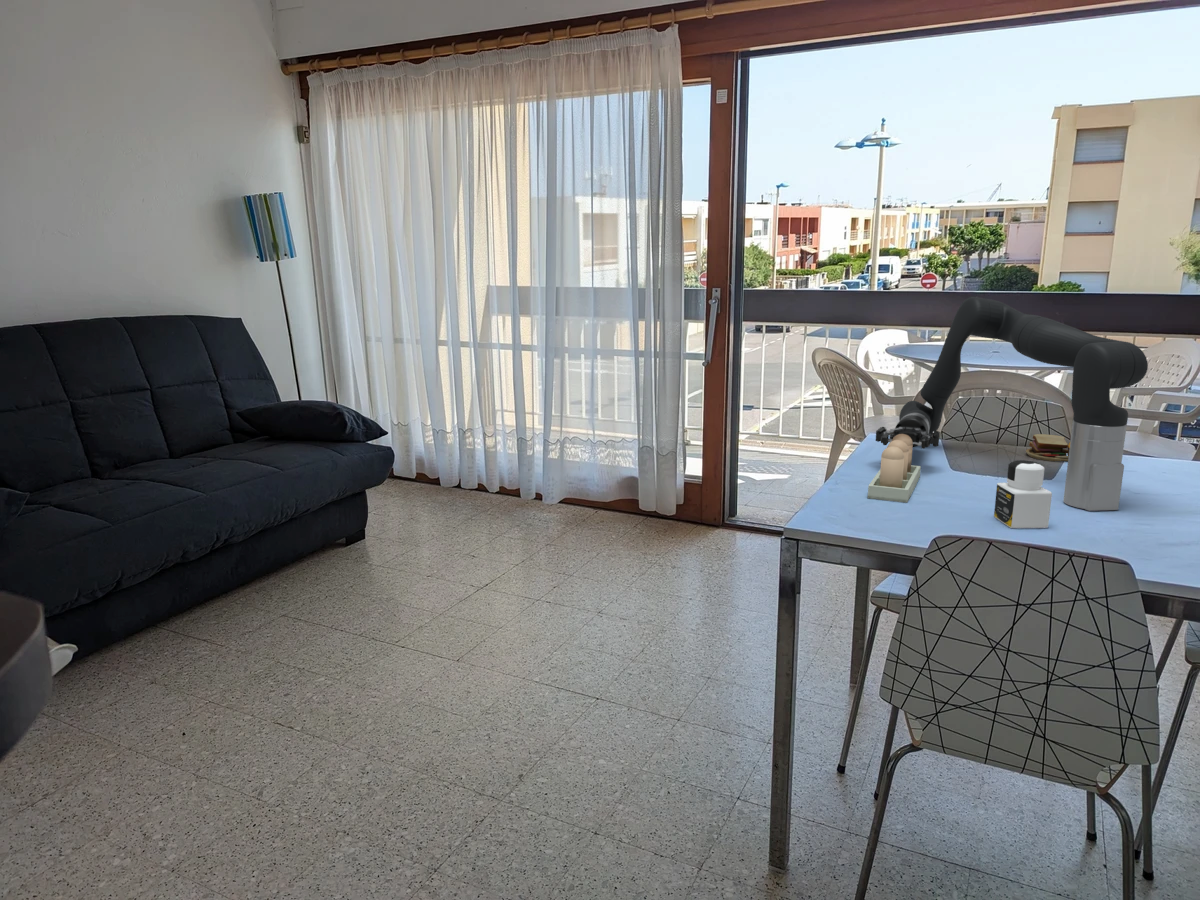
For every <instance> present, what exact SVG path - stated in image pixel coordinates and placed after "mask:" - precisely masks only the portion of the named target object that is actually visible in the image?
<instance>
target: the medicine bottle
mask: <svg viewBox="0 0 1200 900" xmlns="http://www.w3.org/2000/svg"><path fill="white" fill-rule="evenodd" d="M1044 475H1045V466H1044V465H1043V464H1042V463H1040V462H1037V461H1034V460H1033V461H1032V460H1025V459H1023V460H1022V459H1020V460H1019V459H1018V460H1014V461H1010V462H1009V463H1008V469H1007V475H1006V482H997V484H996V491H995V492H996V493H995V501H994V511H993V517H994V518H995V519H996V520H997V521H1000V523H1002V524H1003V525H1005V526H1007V527H1008V528H1010V529H1048V528H1049V523H1050V516H1051V507H1052V497H1053V493H1052V491H1050V490H1048V489H1046V488H1044V487H1042V486H1043V484H1044V477H1045V476H1044Z"/></svg>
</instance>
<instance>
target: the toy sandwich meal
mask: <svg viewBox="0 0 1200 900" xmlns="http://www.w3.org/2000/svg"><path fill="white" fill-rule="evenodd" d="M1032 439H1033V441H1029V444H1028V446H1029V448H1026V450H1025V454H1027V455H1028V456H1029V457H1030V458H1033V459H1036V460H1040V461H1047V462H1055V461H1068V457H1069V449H1070V442H1069V443H1068V442H1067V441H1066V437H1065V436H1062V435H1056V434H1045V433H1038V434H1037V433H1036V434H1033V435H1032ZM1030 447H1031V448H1030ZM1066 453H1068V456H1066Z"/></svg>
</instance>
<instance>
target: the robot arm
mask: <svg viewBox="0 0 1200 900" xmlns="http://www.w3.org/2000/svg"><path fill="white" fill-rule="evenodd" d="M970 336H974V337H978V338H985V339H995V340H1000V341H1003V342H1006V343H1011V346H1012V347H1013V348H1014V350H1015V351H1016V352H1017V353H1020V354H1021V355H1022V356H1024V357H1027V358H1029V359H1032V360H1034V361H1038V362H1040V363H1043V364H1047V365H1053V366H1054V365H1055V366H1059V367H1061V366H1062V367H1067V368H1068V367H1069V368H1070V367H1071V368H1073V369H1072V385H1071V386H1072V387H1071V400H1070V402H1071V408H1072V411H1073V416H1072V417H1073V418H1072V425H1071V426H1072V428H1071V435H1070V441H1069V443H1070V449H1069V457H1068V462H1067V466H1066V467H1067V468H1066V474H1065V481H1064V482H1065V483H1064V492H1063V503H1065V504H1066V505H1068V506H1071V507H1073V508H1077V509H1083V510H1085V511H1088V512H1089V511H1095V512H1096V511H1098V512H1099V511H1119V505H1120V500H1121V491H1122V484H1123V477H1124V470H1125V465H1124V463H1122V461H1123V454H1124V450H1125V449H1124V447H1125V442H1126V434H1127V425H1128V420H1129V419H1128V418H1129V413H1128V410H1127V409H1126V408H1123V407H1122V406H1118V405H1116V404H1114V403H1113V402H1112V401H1111V397H1110V395H1111V393H1110V392H1111V389H1112V390H1113V389H1125V388H1128V387H1132V386H1135V385H1136V384H1138V383H1140V382H1141V381H1142V379H1144V378H1145V376H1146V375H1147V372H1148V367H1149V363H1148V359H1147V356H1146V355H1145V353H1144V351H1143V350H1142V349H1141V348H1140V347H1139V346H1138V345H1136V344H1134V343H1132V342H1128V341H1123V340H1117V339H1113V338H1112V339H1111V338H1106V337H1101V336H1098V335H1095V334H1091V333H1089V332H1087V331H1084V330H1082V329H1079V328H1076V327H1073V326H1070V325H1068V324H1065V323H1062V322H1060V321H1057V320H1055V319H1051V318H1048V317H1044V316H1040V315H1037V314H1028V313H1027V314H1026V313H1025V312H1024V313H1023V312H1022V311H1019V310H1017V309H1015V308H1014V307H1012V306H1011V305H1008V304H1006V303H1005V302H1001V301H998V300H995V299H990V298H984V297H980V296H979V297H978V296H977V297H976V296H970V297H968V298H966V299H964V301H963V302H962V303H961V304H960V306H959V307H958V309H957V310H956V313H955V315H954V317H953V320H952V322H951V325H950V328H949V330H948V333H947V335H946V337H945V340H944V343H943V346H942V348H941V351H940V354H939V357H938V358H937V361H936V363H935V365H934V366H933V369H932V370H931V372H930V374H929V376H928V378H927V379H926V380H925V382H924V384H923V386H922V388H921V389H920V396H921V397H922V399H923V400H924V401H925V402H926V403H927V404H929V406H928V405H925V404H923V403H922V402H919V401H916V400H909V401H908V402H906V403H905V404H904V405H903V406H902V408H901V409H900V412H899V417H898V418H899V421H898V422H897V424H896V426H895V427H894V428H890V429H889V430H887V428H886V427H885V426H881V427H879V428H878V429H877V430H876V431H875V442H878V443H879V442H880V443H881V444H882V445H883V446H888V444H889V443H890V442H892V439H893V438H894V437H895V436H896V435H898V434H906V435H908V436H909V437H910V438H911V439H912V442H913V448H917V447H921V449H923V450H925V449H926V448H928V447H930V446H931V445H932V447H939V444H940V434H941V433H940V431H938V430H939V428H940V425H941V422H942V418H943V413H944V411H945V407H946V404H947V403H948V400H949V398H950V397H951V395H952V394H953V391H954V390H955V388H956V387H957V385H958V383H959V381H960V379H961V374H962V363H961V360H962V359H961V358H962V357H961V355H962V348H963V347H964V345H965V343H966V341H967V340H968V338H969V337H970Z"/></svg>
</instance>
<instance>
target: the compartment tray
mask: <svg viewBox="0 0 1200 900" xmlns="http://www.w3.org/2000/svg"><path fill="white" fill-rule="evenodd" d="M908 453H909V449H908V446H907V444H906V443H905V442H903V441H901V440H894V441H892V442H888V444H887V445H886V448H885V449H883V450H882V453H881V458H880V469H879V470H878V472H877V473H876V474H875V476H874V477H873V478H872V480H871V481H870V483H869V484H868V487H867V499H870V500H878V501H879V500H880V501H889V502H898V503H903V504H904V503H905V504H906V503H908V502H909V500H910V498H911V496H912V494H913V492H914V491H915V488H916V487H917V484H918V483H917V482H919V481H918V480H920V479H919V478H921V468H922V466H921V465H912V464H911V473H907V466H908Z"/></svg>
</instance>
